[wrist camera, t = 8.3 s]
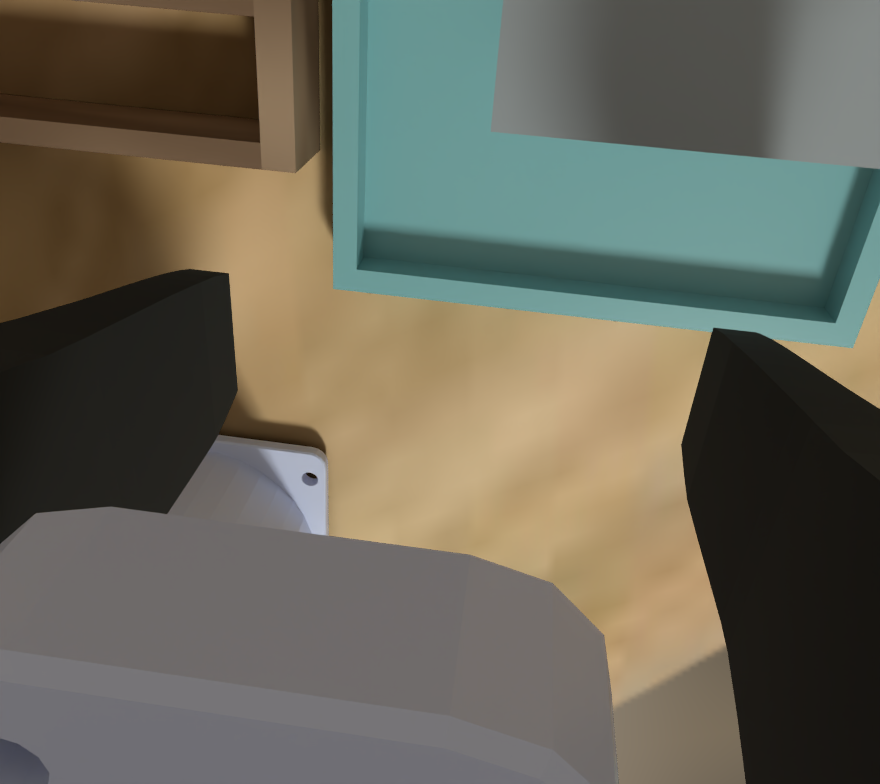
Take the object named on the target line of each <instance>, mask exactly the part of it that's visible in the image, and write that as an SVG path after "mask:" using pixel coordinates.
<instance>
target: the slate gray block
mask: <svg viewBox="0 0 880 784" xmlns="http://www.w3.org/2000/svg"><path fill="white" fill-rule="evenodd" d="M491 132H499V133H509V134H519V135H530V136H540V137H551V138H561V139H571V140H582V141H592V142H603V143H613V144H624V145H634V146H644V147H655V148H665V149H676V150H686V151H696V152H707V153H717V154H728V155H738V156H749V157H759V158H769V159H780V160H790V161H801V162H811V163H821V164H832V165H842V166H853V167H863V168H874V169H880V0H503V8H502V18H501V28H500V39H499V49H498V60H497V70H496V80H495V91H494V101H493V112H492V122H491Z"/></svg>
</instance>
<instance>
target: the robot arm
mask: <svg viewBox="0 0 880 784" xmlns="http://www.w3.org/2000/svg"><path fill="white" fill-rule="evenodd" d="M237 391H238V389H237V376H236V363H235V350H234V336H233V323H232V310H231V297H230V284H229V273H220V272H211V271H202V270H193V269H187V270H179V271H174V272H170V273H166V274H162V275H158V276H155V277H151V278H148V279H145V280H141V281H138V282H135V283H132V284H129V285H126V286H123V287H120V288H117V289H114V290H111V291H107V292H104V293H101V294H98V295H95V296H92V297H89V298H86V299H83V300H80V301H77V302H73V303H70V304H66V305H63V306H59V307H56V308H53V309H49V310H46V311H42V312H39V313H36V314H32V315H29V316H25V317H22V318H18V319H15V320H11V321H7V322H3V323H0V784H619V779H618V767H617V754H616V744H615V730H614V718H613V706H612V694H611V685H610V678H609V670H608V662H607V654H606V647H605V639H604V635H603V634H602V633H601V632H600V631H599V630H598V629H597V628H596V627H595V626H594V625H593V624H592V623H591V622H590V621H589V620H588V619H587V618H586V617H585V615H584V614H583V613H582V612H581V611H580V610H579V609H578V608H577V607H576V606H575V605H574V604H573V603H572V602H571V601H570V600H569V599H568V598H567V597H566V596H565V595H564V594H563V593H562V592H561V591H560V590H559V589H558V588H557V587H556V586H555V585H554V584H553V583H551V582H548V581H545V580H542V579H539V578H536V577H533V576H530V575H527V574H524V573H522V572H519V571H516V570H513V569H510V568H507V567H504V566H501V565H498V564H495V563H492V562H490V561H487V560H484V559H481V558H478V557H475V556H472V555H468V554H460V553H453V552H445V551H438V550H431V549H423V548H416V547H408V546H401V545H393V544H386V543H378V542H371V541H363V540H356V539H348V538H341V537H334V536H329V520H328V460H327V457H326V455H325V454H324V452H322V451H321V450H319V449H317V448H314V447H309V446H301V445H293V444H285V443H278V442H270V441H262V440H254V439H247V438H239V437H231V436H224V435H218V434H219V432H220V430H221V428H222V426H223V423H224V421H225V419H226V417H227V415H228V412H229V410H230V407H231V405H232V403H233V400H234V398H235V396H236V393H237ZM681 446H682V457H683V467H684V477H685V485H686V493H687V500H688V504H689V508H690V512H691V516H692V519H693V523H694V527H695V531H696V534H697V538H698V542H699V545H700V549H701V552H702V556H703V560H704V563H705V567H706V570H707V574H708V577H709V581H710V585H711V588H712V592H713V595H714V599H715V602H716V606H717V610H718V613H719V617H720V620H721V624H722V629H723V633H724V638H725V642H726V646H727V651H728V657H729V663H730V670H731V677H732V683H733V690H734V696H735V703H736V710H737V717H738V724H739V732H740V740H741V748H742V756H743V763H744V772H745V779H746V784H880V409H879V408H877V407H876V406H874V405H872V404H871V403H869V402H868V401H866V400H864V399H863V398H861V397H860V396H858V395H856V394H855V393H853V392H852V391H850V390H849V389H847V388H846V387H844V386H843V385H841V384H840V383H838V382H837V381H835V380H833V379H832V378H830V377H829V376H827V375H826V374H824V373H823V372H821V371H820V370H819V369H817V368H816V367H814V366H813V365H811V364H810V363H808V362H807V361H805V360H804V359H802V358H801V357H799V356H798V355H796V354H795V353H793V352H791V351H790V350H788V349H787V348H785V347H784V346H782V345H780V344H779V343H777V342H775V341H774V340H772V339H770V338H768V337H766V336H764V335H762V334H760V333H757V332H749V331H740V330H731V329H722V328H713V331H712V335H711V338H710V342H709V346H708V349H707V353H706V357H705V360H704V364H703V368H702V371H701V375H700V378H699V382H698V386H697V389H696V393H695V397H694V400H693V404H692V408H691V411H690V415H689V419H688V422H687V426H686V430H685V433H684V437H683V441H682V444H681ZM308 472H310V473H313V474H315V475H316V476H317V478H310V477H309V476H307V475H306V473H308Z"/></svg>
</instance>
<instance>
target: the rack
mask: <svg viewBox="0 0 880 784" xmlns="http://www.w3.org/2000/svg"><path fill="white" fill-rule="evenodd" d="M74 1H85V2H96V3H108V4H119V5H130V6H141V7H152V8H164V9H175V10H186V11H197V12H208V13H220V14H231V15H242V16H253V17H254V25H255V45H256V65H257V85H258V104H259V119H249V118H239V117H229V116H219V115H209V114H198V113H188V112H178V111H168V110H158V109H148V108H138V107H128V106H118V105H107V104H97V103H87V102H77V101H67V100H57V99H47V98H37V97H27V96H17V95H6V94H0V142H1V143H11V144H21V145H30V146H40V147H50V148H59V149H69V150H78V151H88V152H98V153H107V154H117V155H127V156H136V157H146V158H156V159H165V160H175V161H185V162H194V163H204V164H213V165H223V166H233V167H242V168H252V169H262V170H271V171H281V172H291V173H296V172H297V171H298V170H299V169H300V168H302V167H303V166H304V165H305V164H306V163H307V162H308V161H309V160H310V159H311V158H312V157H313V156H314V155H315V154H316V153H317V152H318V151H319V150H320V99H319V15H318V0H74Z"/></svg>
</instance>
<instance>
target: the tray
mask: <svg viewBox="0 0 880 784" xmlns="http://www.w3.org/2000/svg"><path fill="white" fill-rule="evenodd" d="M502 8H503V0H332V62H333V289H339V290H348V291H357V292H366V293H375V294H383V295H392V296H401V297H410V298H418V299H427V300H436V301H445V302H453V303H462V304H471V305H480V306H488V307H497V308H506V309H515V310H523V311H532V312H541V313H550V314H558V315H567V316H576V317H585V318H593V319H602V320H611V321H620V322H628V323H637V324H646V325H655V326H663V327H672V328H681V329H690V330H698V331H707V332H712V331H713V328H722V329H731V330H740V331H749V332H757V333H760V334H762V335H764V336H766V337H768V338H770V339H777V340H786V341H795V342H804V343H812V344H821V345H830V346H839V347H847V348H853V346H854V344H855V341H856V338H857V336H858V333H859V331H860V328H861V325H862V323H863V320H864V318H865V315H866V312H867V310H868V307H869V305H870V302H871V299H872V297H873V294H874V292H875V289H876V286H877V284H878V281H879V279H880V169H874V168H863V167H853V166H842V165H832V164H821V163H811V162H801V161H790V160H780V159H769V158H759V157H749V156H738V155H728V154H717V153H707V152H696V151H686V150H676V149H665V148H655V147H644V146H634V145H624V144H613V143H603V142H592V141H582V140H571V139H561V138H551V137H540V136H530V135H519V134H509V133H499V132H491V122H492V112H493V101H494V91H495V80H496V70H497V60H498V49H499V39H500V28H501V18H502Z"/></svg>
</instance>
